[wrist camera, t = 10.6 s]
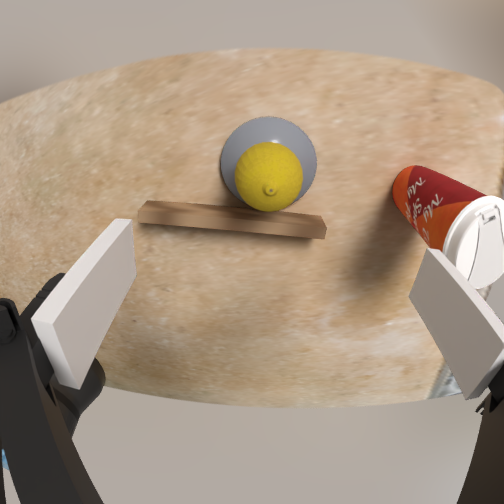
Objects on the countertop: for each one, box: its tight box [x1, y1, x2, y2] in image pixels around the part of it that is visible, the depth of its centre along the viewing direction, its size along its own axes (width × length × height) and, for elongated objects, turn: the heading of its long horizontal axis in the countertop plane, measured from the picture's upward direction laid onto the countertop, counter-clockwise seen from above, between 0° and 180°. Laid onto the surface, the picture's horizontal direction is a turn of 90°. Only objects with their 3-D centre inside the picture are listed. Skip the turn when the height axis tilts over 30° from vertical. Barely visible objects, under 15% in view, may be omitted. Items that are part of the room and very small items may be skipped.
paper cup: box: [392, 165, 504, 289], centre depth 24 cm, size 8×8×14 cm
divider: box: [138, 201, 327, 239], centre depth 31 cm, size 18×1×3 cm, turn 84°
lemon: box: [235, 142, 303, 212], centre depth 25 cm, size 6×6×8 cm
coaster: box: [221, 117, 317, 204], centre depth 29 cm, size 9×9×1 cm
